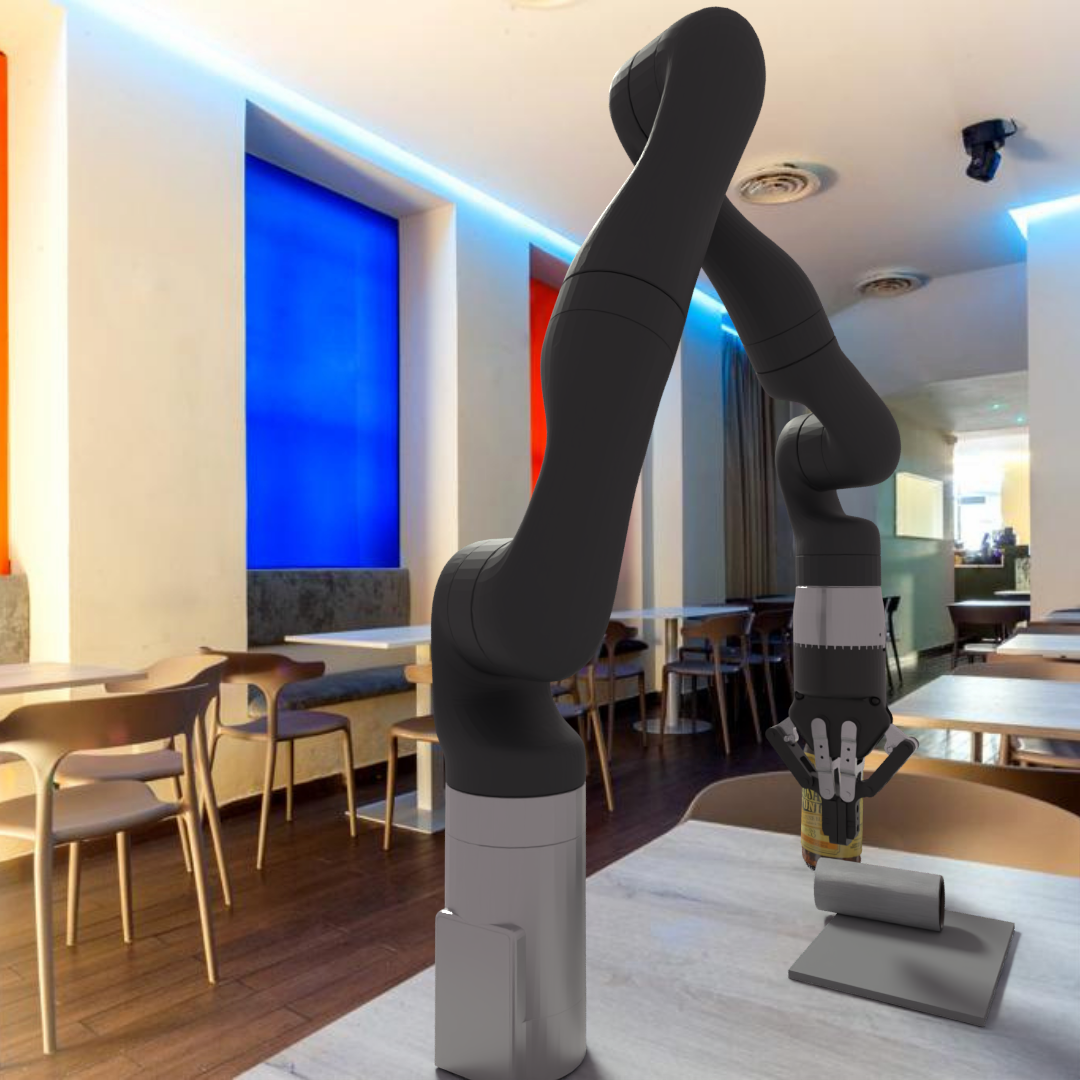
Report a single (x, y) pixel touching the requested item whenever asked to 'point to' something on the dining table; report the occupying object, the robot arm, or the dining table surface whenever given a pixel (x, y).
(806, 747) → the sauce bottle
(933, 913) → the grey hollow cylinder
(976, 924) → the mat
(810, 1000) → the dining table surface
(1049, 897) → the dining table surface
